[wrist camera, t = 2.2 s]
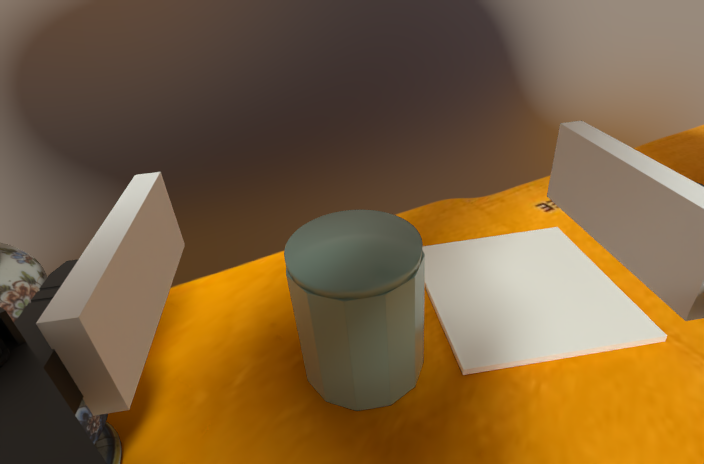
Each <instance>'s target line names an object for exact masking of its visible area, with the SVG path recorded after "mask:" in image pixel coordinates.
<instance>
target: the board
mask: <svg viewBox="0 0 704 464" xmlns="http://www.w3.org/2000/svg"><path fill="white" fill-rule="evenodd" d="M422 250H423V252H424V254H425V281H424V286H425V288H426V291H427V293H428V295H429V298H430V300H431V302H432V305H433V307H434V309H435V311H436V314H437V316H438V318H439V321H440V323H441V325H442V328H443V330H444V332H445V335H446V337H447V339H448V342H449V344H450V346H451V349H452V351H453V353H454V355H455V358H456V360H457V362H458V365H459V367H460V369H461V372H462V374H463V375H466V374H472V373H478V372H484V371H490V370H496V369H502V368H508V367H514V366H520V365H526V364H532V363H538V362H544V361H550V360H556V359H562V358H568V357H574V356H580V355H586V354H592V353H598V352H604V351H610V350H616V349H622V348H628V347H634V346H640V345H646V344H652V343H658V342H664V341H665V340H666V337H667V335H666V334H665V333H664V332H663V331H662V330H661V329H660V328H659V327H658V326H657V325H656V324H655V323H654V322H653V321H652V320H651V319H650V318H649V317H648V316H647V315H646V314H645V313H644V312H643V311H642V310H641V309H640V308H639V307H638V306H637V305H636V304H635V303H634V302H633V301H632V300H631V299H629V298H628V297H627V296H626V295H625V294H624V293H623V292H622V291H621V290H620V289H619V288H618V287H617V286H616V285H615V284H614V283H613V282H612V281H611V280H610V279H609V278H608V277H607V276H606V275H605V274H604V273H603V272H602V271H601V270H600V269H599V268H598V267H597V266H596V265H595V264H594V263H593V262H592V261H591V260H590V259H589V258H588V257H587V256H586V255H585V254H584V253H583V252H582V251H581V250H580V249H579V248H578V247H577V246H576V245H575V244H574V243H573V242H572V241H571V240H570V239H569V238H568V237H567V236H566V235H565V234H564V233H563V232H562V231H561V230H560V229H559V228H558V227H554V228H547V229H540V230H534V231H527V232H520V233H513V234H506V235H499V236H492V237H485V238H478V239H471V240H465V241H458V242H451V243H444V244H437V245H430V246H423V247H422Z"/></svg>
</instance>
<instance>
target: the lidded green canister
mask: <svg viewBox="0 0 704 464" xmlns="http://www.w3.org/2000/svg"><path fill="white" fill-rule="evenodd" d="M284 256H285V262H286V276H287V280H288V285H289V290H290V295H291V300H292V305H293V310H294V315H295V320H296V325H297V330H298V335H299V340H300V345H301V350H302V354H303V359H304V364H305V369H306V374H307V379H308V382H309V383H310V384H311V385H312V386H313V387H314V388H315V390H316V391H317V392H318V393H319V394H320V395H321V396H322V398H323V399H324V400H325V401H326V402H329V403H332V404H336V405H339V406H342V407H345V408H349V409H352V410H355V411H360V410H366V409H372V408H378V407H384V406H390V405H392V404H393V403H394V402H396V401H397V400H398V399H400V398H401V397H402V396H403V395H405V394H406V393H407V392H409V391H410V390H411V389H413V388H414V387H415V386H416V383H417V380H418V377H419V374H420V371H421V368H422V365H423V362H424V281H425V254H424V252H423V250H422V239H421V236H420V234H419V232H418V231H417V229H416V228H415V227H414V226H413V225H412V224H410V223H409V222H408V221H406V220H404V219H402V218H400V217H398V216H396V215H393V214H390V213H385V212H380V211H374V210H348V211H341V212H336V213H332V214H328V215H324V216H321V217H319V218H316V219H314V220H312V221H310V222H308V223H306V224H305V225H303V226H302V227H300V228H299V229H298V230H297V231H296V232H295V233H294V234H293V235H292V236H291V237H290V239H289V240H288V242H287V244H286V247H285V252H284Z"/></svg>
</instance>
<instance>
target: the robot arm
mask: <svg viewBox="0 0 704 464" xmlns="http://www.w3.org/2000/svg"><path fill="white" fill-rule="evenodd" d="M547 197H548V198H550V199H551V200H552V201H553V202H554V203H555V204H556V205H557V206H558V207H560V208H561V209H562V210H563V211H564V212H565V213H566V214H567V215H568V216H570V217H571V218H572V219H573V220H574V221H575V222H576V223H577V224H578V225H580V226H581V227H582V228H583V229H584V230H585V231H586V232H587V233H588V234H590V235H591V236H592V237H593V238H594V239H595V240H596V241H597V242H598V243H600V244H601V245H602V246H603V247H604V248H605V249H606V250H607V251H608V252H609V253H611V254H612V255H613V256H614V257H615V258H616V259H617V260H618V261H619V262H621V263H622V264H623V265H624V266H625V267H626V268H627V269H628V270H629V271H631V272H632V273H633V274H634V275H635V276H636V277H637V278H638V279H639V280H641V281H642V282H643V283H644V284H645V285H646V286H647V287H648V288H649V289H651V290H652V291H653V292H654V293H655V294H656V295H657V296H658V297H659V298H661V299H662V300H663V301H664V302H665V303H666V304H667V305H668V306H669V307H671V308H672V309H673V310H674V311H675V312H676V313H677V314H678V315H679V316H681V317H682V318H683V319H684V320H685V321H688V320H695V319H701V318H704V185H702V184H700V183H696V182H694V181H692V180H690V179H688V178H686V177H684V176H683V175H681V174H679V173H677V172H675V171H673V170H672V169H670V168H668V167H666V166H664V165H662V164H661V163H659V162H657V161H655V160H653V159H651V158H650V157H648V156H646V155H644V154H642V153H640V152H639V151H637V150H635V149H633V148H631V147H629V146H628V145H626V144H624V143H622V142H620V141H618V140H617V139H615V138H613V137H611V136H609V135H607V134H605V133H604V132H602V131H600V130H598V129H596V128H594V127H593V126H591V125H589V124H587V123H585V122H583V121H575V122H568V123H560V128H559V133H558V139H557V145H556V150H555V155H554V161H553V166H552V171H551V177H550V182H549V188H548V193H547ZM183 248H184V241H183V238H182V236H181V233H180V230H179V226H178V223H177V220H176V217H175V214H174V211H173V208H172V206H171V202H170V199H169V197H168V193H167V190H166V187H165V184H164V181H163V178H162V175H161V172H156V173H149V174H140V175H135V176H134V178H133V179H132V181H131V182H130V184H129V185H128V187H127V188H126V190H125V191H124V193H123V194H122V196H121V197H120V199H119V200H118V202H117V203H116V205H115V206H114V208H113V209H112V211H111V212H110V214H109V215H108V217H107V218H106V220H105V221H104V223H103V224H102V225H101V227H100V228H99V230H98V232H97V233H96V234H95V236H94V238H93V239H92V240H91V242H90V243H89V245H88V246H87V248H86V249H85V251H84V252H83V254H82V255H81V257H80V259H78V260H72V261H66V262H65V263H64V264H62V265H61V266H60V267H59V268H57V269H56V270H55V271H53V272H52V273H51V274H50V275H49V276H48V277H47V279H46V280H45V281H44V283H43V284H42V285H41V287H40V288H39V289H40V291H37V292H36V294H35V295H34V296H33V298H32V299H31V303H28V305H27V306H26V307H25V309H24V310H23V311H22V313H21V314H20V316H19V317H18V318H17V320H16V321H15V322H13V321H12V319H11V318H10V316H9V315H8V313H7V312H6V310H4V309H3V308H1V307H0V464H107V463H106V461H105V460H104V458H103V457H102V455H101V454H100V452H99V451H98V449H97V448H96V446H95V445H94V443H93V442H92V440H91V439H90V437H89V436H88V434H87V433H86V431H85V430H84V428H83V427H82V425H81V424H80V422H79V421H78V419H77V417H76V416H75V415H76V412H77V410H78V408H79V406H80V404H81V401H82V399H83V400H84V402H85V403H86V405H87V406H88V408H89V410H90V411H91V413H92V414H93V416H95V415H101V414H107V413H113V412H120V411H126V410H129V409H130V406H131V403H132V400H133V397H134V394H135V391H136V388H137V385H138V382H139V379H140V376H141V373H142V371H143V368H144V365H145V362H146V359H147V356H148V353H149V350H150V347H151V344H152V341H153V338H154V335H155V332H156V329H157V326H158V323H159V320H160V317H161V314H162V311H163V308H164V305H165V302H166V299H167V296H168V293H169V290H170V287H171V284H172V281H173V278H174V275H175V272H176V269H177V266H178V263H179V260H180V257H181V254H182V251H183Z"/></svg>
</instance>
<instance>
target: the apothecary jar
mask: <svg viewBox="0 0 704 464" xmlns="http://www.w3.org/2000/svg"><path fill="white" fill-rule="evenodd" d="M46 279H47V275H46V273H45V271H44V269H43V267H42V266H41V265H40V263H39V262H38V261H37V260H36V259H35V258H33V257H32V256H31V255H29V254H28V253H26V252H24V251H23V250H21V249H18V248H16V247H13V246H11V245H8V244H3V243H0V307H1V308H3V309H4V310H6V312H7V313H8V315H9V316H10V318H11V319H12V321H13V322H15V321H16V320H17V318H18V317H19V316H20V314H21V313H22V311H23V310H24V309H25V307H26V306H27V305H28V303H31V299H32V298H33V296H34V295H35V294H36V292H37V291H40V289H39V288H40V287H41V285H42V284H43V283H44V281H45V280H46ZM75 416H76V417H77V419H78V421H79V422H80V424H81V425H82V427H83V428H84V430H85V431H86V433H87V434H88V436H89V437H90V439H91V440H92V442H93V443H94V445H95V446H96V448H97V449H98V451H99V452H100V454H101V455H102V457H103V458H104V460H105V461H106V463H107V464H120V461H121V441H120V438H119V436H118V433H117V432H116V430H115V429H114V428H113V427H112V426H111V425H110V424H109V423H108V422H106V420H107V416H108V413H107V414H101V415H95V416H93V414H92V413H91V411H90V410H89V408H88V406H87V405H86V403H85V402H84V400H83V399H82V401H81V404H80V406H79V408H78V410H77V412H76V415H75Z"/></svg>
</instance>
